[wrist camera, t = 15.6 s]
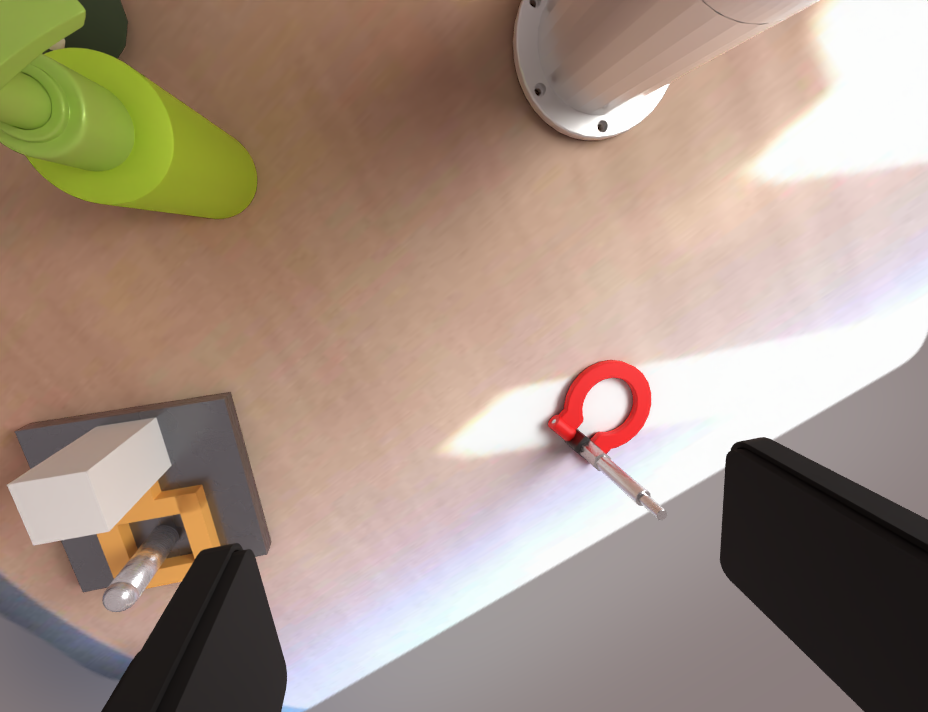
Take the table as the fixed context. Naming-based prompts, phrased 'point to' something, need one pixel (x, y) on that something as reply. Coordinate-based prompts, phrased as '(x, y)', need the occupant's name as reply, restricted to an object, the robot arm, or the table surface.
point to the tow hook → (604, 441)
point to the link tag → (112, 496)
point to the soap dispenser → (109, 123)
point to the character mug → (99, 29)
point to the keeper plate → (165, 488)
